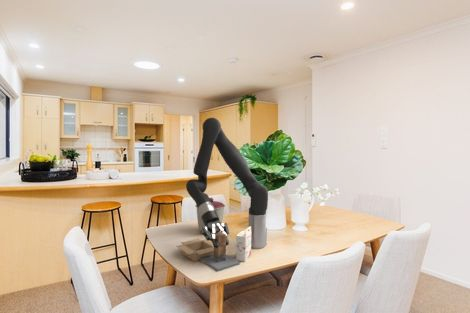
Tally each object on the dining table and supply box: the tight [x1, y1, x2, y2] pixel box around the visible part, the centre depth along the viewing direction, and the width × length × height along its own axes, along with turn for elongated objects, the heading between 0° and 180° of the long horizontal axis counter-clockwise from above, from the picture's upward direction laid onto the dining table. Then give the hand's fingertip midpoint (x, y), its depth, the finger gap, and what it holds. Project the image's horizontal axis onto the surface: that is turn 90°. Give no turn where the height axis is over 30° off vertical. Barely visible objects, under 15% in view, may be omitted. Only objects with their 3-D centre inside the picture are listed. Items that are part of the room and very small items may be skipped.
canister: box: [195, 197, 226, 234], centre depth 167 cm, size 18×18×21 cm
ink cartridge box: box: [235, 226, 252, 263], centre depth 130 cm, size 9×5×15 cm, turn 158°
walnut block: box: [214, 231, 227, 262], centre depth 124 cm, size 4×4×12 cm
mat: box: [199, 254, 241, 272], centre depth 124 cm, size 12×14×1 cm
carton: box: [176, 238, 214, 262], centre depth 133 cm, size 18×18×4 cm
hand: (222, 245), depth 123 cm, fingers open, 5 cm apart
